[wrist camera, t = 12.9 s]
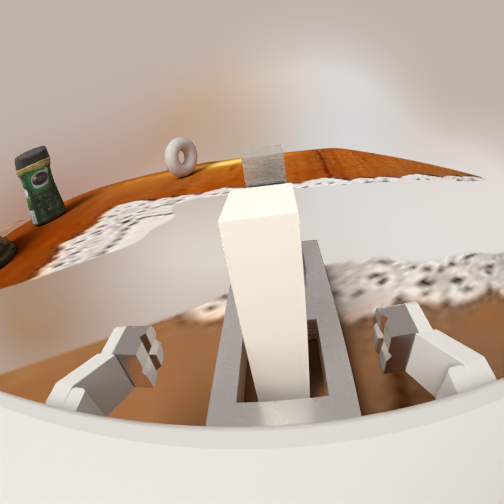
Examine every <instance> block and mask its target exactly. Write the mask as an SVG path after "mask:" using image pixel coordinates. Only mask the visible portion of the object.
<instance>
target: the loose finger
mask: <svg viewBox="0 0 504 504" xmlns="http://www.w3.org/2000/svg"><path fill="white" fill-rule="evenodd" d="M218 225H219V230H220V235H221V239H222V244H223V248H224V254H225V258H226V263H227V267H228V272H229V276H230V281H231V286H232V290H233V295H234V299H235V304H236V308H237V313H238V317H239V321H240V326H241V330H242V334H243V339H244V343H245V347H246V351H247V356H248V360H249V364H250V368H251V372H252V377H253V381H254V385H255V389H256V393H257V397H258V401H259V402H267V401H282V400H294V399H305V398H310V385H309V357H308V336H307V317H306V301H305V286H304V272H303V259H302V247H301V235H300V224H299V213H298V209H297V205H296V200H295V196H294V191H293V187H292V183H285V184H277V185H268V186H260V187H252V188H244V189H236V190H230V192H229V195H228V197H227V200H226V202H225V205H224V208H223V210H222V213H221V215H220V218H219V221H218Z"/></svg>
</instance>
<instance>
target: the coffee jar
mask: <svg viewBox="0 0 504 504" xmlns="http://www.w3.org/2000/svg"><path fill="white" fill-rule="evenodd" d="M15 166H16V173H17V175H18V177H19V178H20V179H21V182H22V184H23V187H24V191H25V195H26V199H27V203H28V207H29V212H30V215H31V219H32V222H33V224H34V225H36V226H38V225H42V224H45V223H47V222H49V221H51V220H53V219H55V218H57V217H58V216H60V215H61V214H63V213H64V212H65V210H66V208H65V205H64V203H63V200H62V198H61V196H60V194H59V191H58V189H57V187H56V184H55V182H54V180H53V176H52V173H51V169H50V157H49V154H48V152H47V149H46V147H45V146H41V147H37V148H34V149H31V150H29V151H27V152H25V153H23V154H21V155H20V156H18V157H17V158H15Z"/></svg>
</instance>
